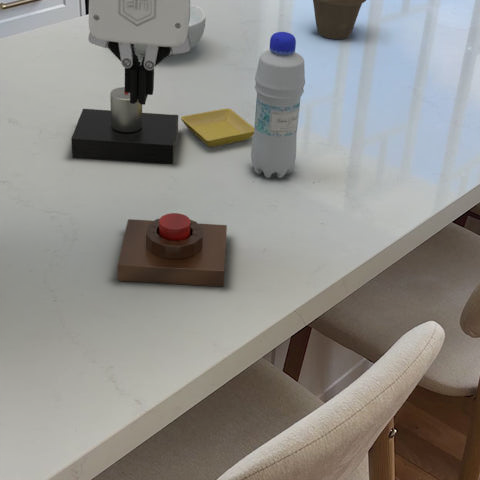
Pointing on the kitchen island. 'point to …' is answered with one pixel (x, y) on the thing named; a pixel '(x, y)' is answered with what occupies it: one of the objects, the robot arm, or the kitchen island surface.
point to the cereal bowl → (194, 28)
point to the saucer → (218, 127)
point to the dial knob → (124, 112)
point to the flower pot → (336, 17)
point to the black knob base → (125, 138)
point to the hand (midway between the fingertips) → (139, 98)
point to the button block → (173, 255)
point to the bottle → (277, 106)
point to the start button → (174, 227)
